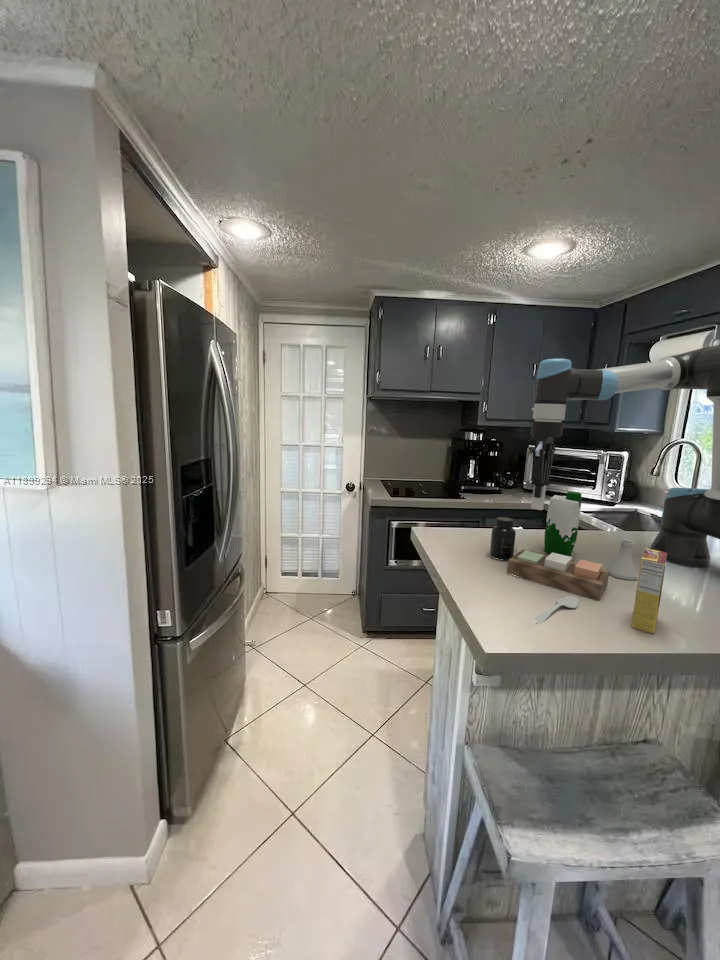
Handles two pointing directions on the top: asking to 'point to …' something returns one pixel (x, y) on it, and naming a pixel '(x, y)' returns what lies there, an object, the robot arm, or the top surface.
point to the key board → (559, 577)
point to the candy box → (649, 590)
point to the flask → (623, 562)
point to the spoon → (569, 600)
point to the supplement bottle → (503, 539)
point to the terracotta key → (588, 569)
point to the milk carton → (562, 523)
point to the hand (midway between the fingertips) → (537, 508)
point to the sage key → (530, 557)
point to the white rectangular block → (558, 562)
